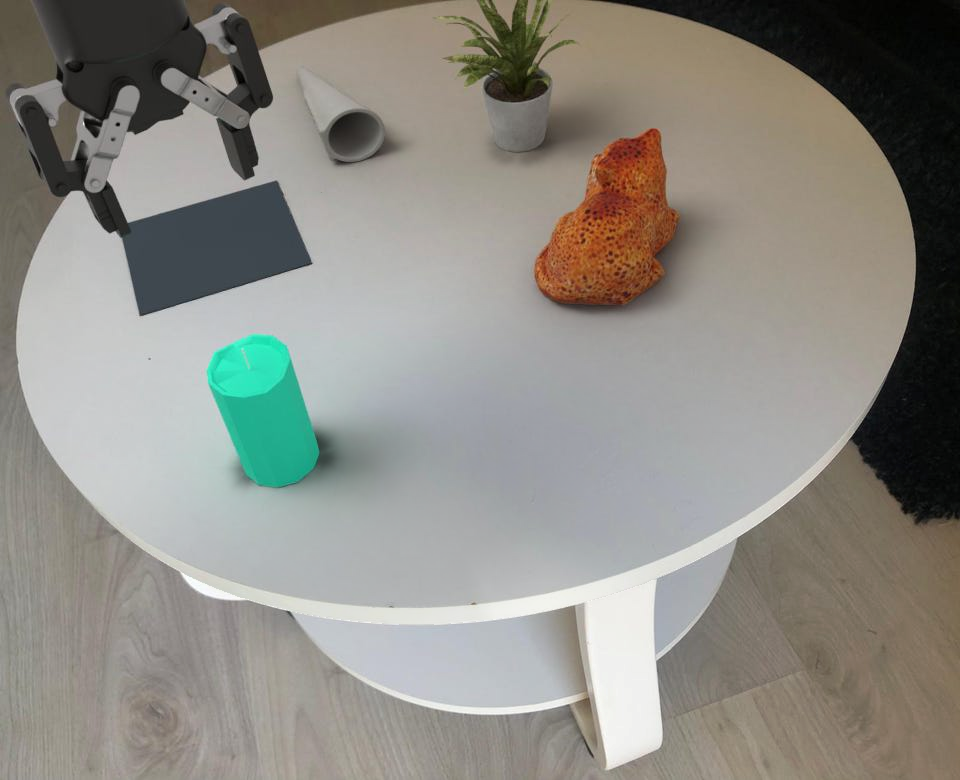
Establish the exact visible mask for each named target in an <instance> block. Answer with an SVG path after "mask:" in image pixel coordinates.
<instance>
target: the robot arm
mask: <svg viewBox="0 0 960 780" xmlns="http://www.w3.org/2000/svg"><path fill="white" fill-rule="evenodd" d="M30 4H31V5H32V7H33V9H34V12H35V15H36V17H37V19H38V22H39V23H40V27H41V28H42V30H43V33H44V35H45V37H46V40H47V43H48V45H49V46H50V49H51V51H52V54H53V57H54V59H55V65H56V72H55V79H52V80H49V81H45V82H43V83H39V84H37V85H34V86H30V87H28V88H27V86H25V85H24V84H22V83H19V82H14V83H12V84H10V85H8V86H7V87H6V88H5V91H4V92H5V93H4V95H5V96H4V97H5V99H6V102H7V104H8V106H9V109H10V111H11V113H12V116H13V118H14V121H15V123H16V125H17V128H18V130H19V131H18V132H19V133H20V135H21V138H22V140H23V143H24V145H25V147H26V150H27V153H28V155H29V157H30V161H31V163H32V164H33V167H34V169H35V170H34V171H35V172H36V174H37V175H38V177H39V178H40V179H41V180H42V181H43V183H45V185H46V187H47V189H48V190H49V191H50V193H51V194H52V195H53V196H55V197H57V198H64V197H67V196H68V195H69V194H70V193H71V192H82V193H83V195H84V197H85V200H86V201H87V202H86V203H88V204H87V205H88V206H89V209H90V211H91V213H92V215H93V217H94V219H95V220H96V221H97V222H98V224H99V225H100V226H101V228H102V229H103V230H104V231H105V232H107V233H108V234H112V233H114V232H115V233H116V234H117V236H118V237H119V238H120V239H122V238H123V237H125V236H127V235H129V234H131V233H132V232H131V229H130V227H129V225H128V223H129V222H128V221H127V218H126V215H125V213H124V210H123V209H122V206H121V204H120V202H119V199H118V197H117V195H116V192H115V190H114V188H113V185H111V183H110V182H109V181H108V177H109V174H110V171H111V168H112V164H113V162H114V160H116V159H118V158H119V156H120V154H121V150H122V148H123V144H124V141H125V139H126V135H127V133H132V134H133V135H134V136H136V135H138V134H141V133H143V132H145V131H148V130H149V129H150V128H152V127H153V126H154V125H156V124H158V123H159V122H164V121H170V120H174V119H176V118H178V117H181V116H183V115H185V113H184V110H185V109H186V108H187V107H188V106H189V104H190V103H192V105H195V106H196V107H198V108H200V109H202V111H204V112H206V113H208V114H209V115H211V116H212V117H216V118H215V120H216V124H217V127H218V131H219V133H220V136H221V141H222V143H223V147H224V149H225V153H226V155H227V159H228V162H229V165H230V167H231V168H232V170H233V171H234V172H235V173H236V174H237V175H238V176H239V177H240V179H242V180H243V181H247V180H249V179H251V178H254V177H255V175H256V174H255V170H254V168H255V167H257V166H259V158H260V157H259V154H258V149H257V146H256V142H255V138H254V136H253V132H252V128H251V126H250V125H251V124H250V123H251V118H252V116H253V115H254V113H256V112H257V111H258V110H259V109H266V108H267V109H268V108H269V107H270V106H271V105H272V103H273V101H274V94H273V91H272V88H271V85H270V82H269V79H268V76H267V73H266V69H265V66H264V64H263V60H262V58H261V55H260V51H259V49H258V45H257V42H256V39H255V36H254V33H253V30H252V27H251V25H250V22H249V20H248V19H247V18H245V17H244V16H243V15H242V14H241V13H239V12H238V11H237V10H235V9H234V8H233V7H232V6H231V5H229V4H228V3H226V2H219V3H217V4H215V6H214V7H213V9H212V11H211V16H210V17H207V18H206V19H204V20H201V21H199V22H197V23H195V24H194V23H193V22H192V20H191V18H190V13H189V10H188V7H187V4H186V1H185V0H30ZM208 45H212V46H213V47H214V48H215V49H217V50H218V52H220V53H221V54H223V55H225V56H226V59H227V61H228V64H229V66H230V67H229V68H230V69H231V72H232V75H233V77H234V81H235V83H236V86H235V88H233V89H232V90H231V91H230V92H228V93H226V92H224V91H223V90H221V89H219V88H218V87H217V86H215V85H213V84H211V83H210V82H209V81H207V80H206V79H205V78H203V77H202V76H200V73H201V70H202V67H203V64H204V60H205V58H206V54H207V49H208V47H207V46H208ZM66 102H68V103H69V104H70V105H72V106H73V107H75V108H77V109H78V110H80V113H79V117H78V120H77V122H76V129H75V130H76V141H75V144H74V148H73V151H72V154H71V158H70V160H63V157H62V154H61V152H60V149H59V147H58V144H57V142H56V139H55V136H54V134H53V131H52V128H55V127H57V125H58V123H59V121H60V114H59V113H60V112H59V110H60V107H61V106H62V104H64V103H66Z"/></svg>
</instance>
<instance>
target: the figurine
mask: <svg viewBox="0 0 960 780" xmlns="http://www.w3.org/2000/svg"><path fill="white" fill-rule="evenodd" d="M667 175H668V170H667V166H666V161H665V159H664V155H663V149H662V135H661V131H660V130H659V129H658V128H654V127H651V128H649V129H646V130H645V131H643V132H642V133H640V134H638V135H637V136H636V137H633V138H631V137H630V138H629V137H628V138H627V137H620V138H618V139H617V140H615V141H613V142H611V143H609V144H607V145H606V146H605V147H604V148H603V150H602V152H601V153H597V154H595V155H594V156H593V158H592V160H591V162H590V169H589V173H588V176H587V177H586V187H585V195H584V200H583V201H582V202H581V203H580V204H579V205H578V206H577V208H576V209H574V210H572V211H569V212H566V213H565V214H564V215H562V216H561V217H560V218H559V219H558V220H557V222H556V225H555V226H554V229H553V231H552V233H551V235H550V239H549V242H548V243H547V244H546V245H545V246H544V247H543V248H542V249H541V251H540V252H539V254H538V255H537V256H536V258H535V260H534V268H533V269H534V270H533V274H534V275H533V276H534V279H535V282H536V285H537V288H538V290H539V291H540V292H541V293H542V294H543V295H544V296H546V297H547V298H548V299H550V300H551V301H553V302H557V303H560V304H564V305H589V306H590V305H591V306H592V305H594V306H595V305H596V306H597V305H599V306H600V305H604V306H605V305H606V306H625V305H627V304H628V303H630V302H632V301H633V300H635V299H636V298H637V297H639V296H640V295H641V294H642V293H644V292H645V291H647V290H649V289H650V288H651V287H652V286H655V285H656V283H658V281H659V280H660V279H661V278H662V277H663V276H664V275H665V274H666V273H665V270H664V268H663V266H662V265H661V263H660V262H659V260H658V259H657V258H655V256H656V255H657V254H658V253H659V252H660V251H661V250H662V249H664V248H665V247H666V246H667V244H669V242H670V241H671V240H672V239H673V238H674V236H675V232H676V229H677V225H678V223H679V221H680V218H681V214H680V213H679V212H678V211H677V210H676V209H674V208H671V207H670V206H669V204H668V200H667Z"/></svg>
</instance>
